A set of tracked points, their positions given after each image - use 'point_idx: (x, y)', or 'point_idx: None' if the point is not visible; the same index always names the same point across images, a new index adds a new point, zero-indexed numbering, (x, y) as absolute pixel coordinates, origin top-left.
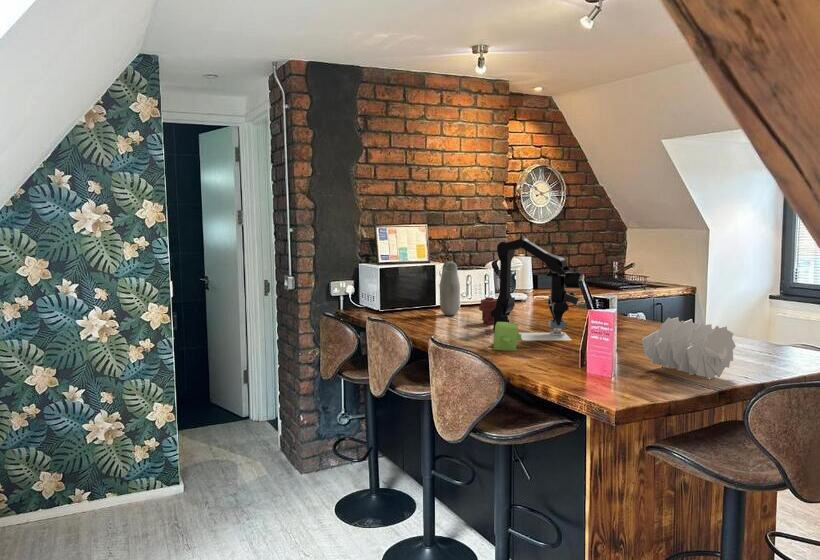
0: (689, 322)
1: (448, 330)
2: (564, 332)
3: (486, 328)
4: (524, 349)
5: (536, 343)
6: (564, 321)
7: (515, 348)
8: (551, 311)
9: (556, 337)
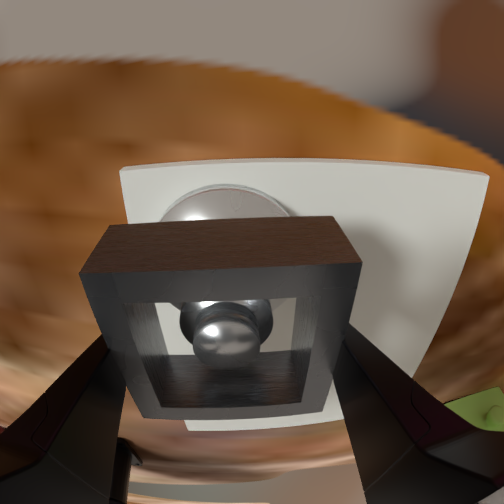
0: None
1: (168, 500)
2: (213, 194)
3: None
4: (499, 372)
5: (444, 358)
6: (281, 287)
7: (501, 391)
8: (109, 489)
9: (369, 273)
